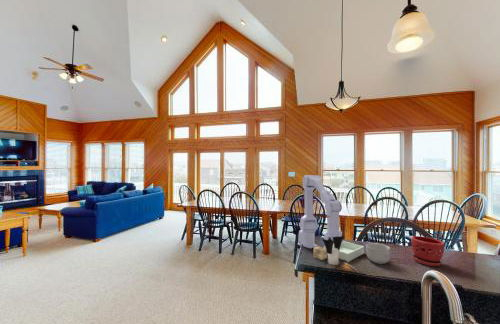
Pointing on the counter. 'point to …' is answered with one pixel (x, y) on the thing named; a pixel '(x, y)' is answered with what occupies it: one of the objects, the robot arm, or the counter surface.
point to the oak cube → (319, 253)
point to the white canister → (333, 257)
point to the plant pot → (427, 250)
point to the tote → (349, 251)
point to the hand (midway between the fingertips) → (333, 251)
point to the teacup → (378, 253)
